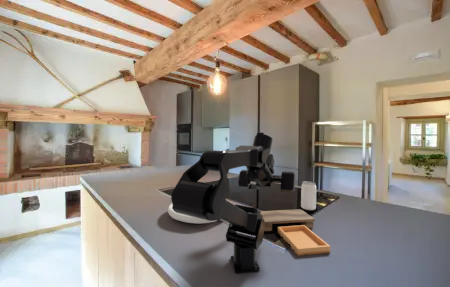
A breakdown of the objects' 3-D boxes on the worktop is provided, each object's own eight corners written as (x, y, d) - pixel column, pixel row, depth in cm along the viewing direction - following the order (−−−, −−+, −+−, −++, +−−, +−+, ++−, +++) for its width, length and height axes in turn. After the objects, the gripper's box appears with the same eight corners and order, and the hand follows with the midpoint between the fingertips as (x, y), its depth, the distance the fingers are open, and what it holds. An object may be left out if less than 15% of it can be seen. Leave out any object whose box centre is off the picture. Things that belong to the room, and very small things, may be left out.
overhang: (314, 227, 76) (314, 218, 76) (262, 231, 73) (262, 222, 72) (300, 216, 86) (300, 209, 85) (254, 219, 82) (254, 211, 82)
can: (306, 211, 92) (307, 184, 91) (298, 206, 98) (298, 181, 98) (319, 209, 94) (319, 183, 93) (309, 205, 100) (310, 180, 99)
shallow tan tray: (330, 252, 60) (330, 246, 60) (298, 255, 58) (298, 249, 58) (304, 230, 73) (304, 225, 73) (277, 232, 72) (277, 226, 72)
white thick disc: (184, 192, 104) (236, 196, 99) (184, 205, 104) (236, 209, 99) (155, 205, 77) (224, 211, 72) (154, 222, 77) (224, 230, 71)
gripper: (292, 148, 63) (298, 170, 75) (236, 148, 71) (250, 168, 83) (290, 182, 58) (297, 200, 70) (230, 178, 66) (245, 195, 78)
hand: (270, 189), depth 75 cm, fingers open, 9 cm apart
